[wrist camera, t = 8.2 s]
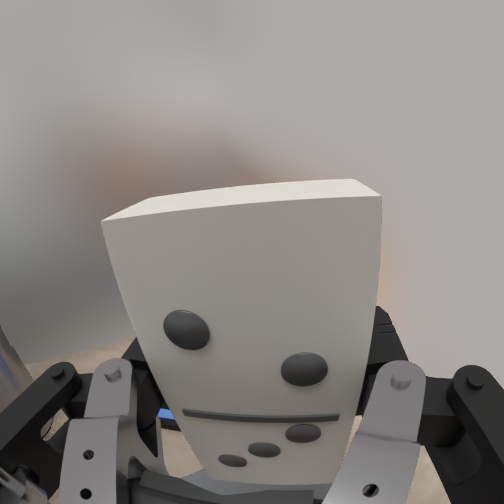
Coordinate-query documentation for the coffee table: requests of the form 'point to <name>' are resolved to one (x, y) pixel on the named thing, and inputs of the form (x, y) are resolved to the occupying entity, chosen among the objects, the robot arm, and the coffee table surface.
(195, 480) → the mat
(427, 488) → the coffee table surface
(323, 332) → the domino
